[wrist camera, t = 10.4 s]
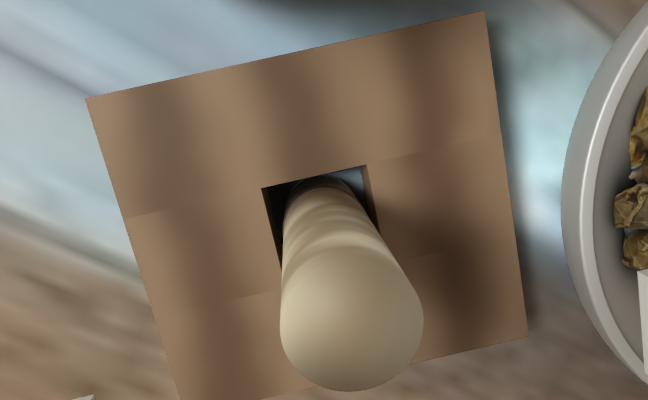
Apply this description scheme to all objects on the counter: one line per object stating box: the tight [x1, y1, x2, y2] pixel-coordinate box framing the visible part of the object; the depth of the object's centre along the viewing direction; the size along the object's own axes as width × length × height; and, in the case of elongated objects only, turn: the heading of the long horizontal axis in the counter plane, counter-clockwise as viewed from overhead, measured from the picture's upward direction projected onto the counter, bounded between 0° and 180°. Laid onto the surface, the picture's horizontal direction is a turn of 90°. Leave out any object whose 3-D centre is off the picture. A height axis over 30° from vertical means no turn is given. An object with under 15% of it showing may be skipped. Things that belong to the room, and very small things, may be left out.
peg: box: [280, 175, 424, 392], centre depth 23 cm, size 4×4×15 cm
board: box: [85, 10, 529, 400], centre depth 28 cm, size 20×18×4 cm
